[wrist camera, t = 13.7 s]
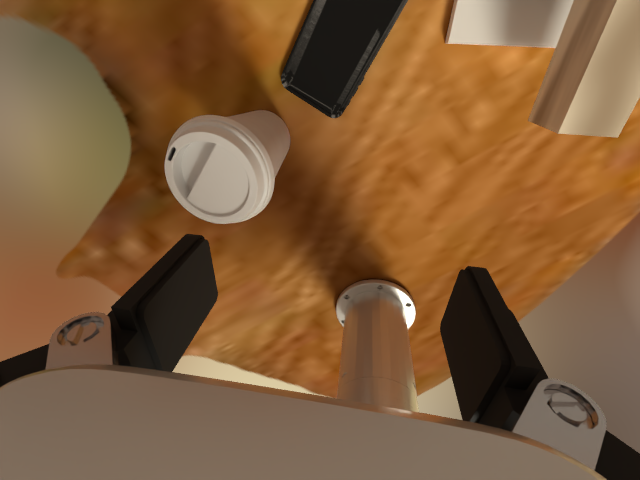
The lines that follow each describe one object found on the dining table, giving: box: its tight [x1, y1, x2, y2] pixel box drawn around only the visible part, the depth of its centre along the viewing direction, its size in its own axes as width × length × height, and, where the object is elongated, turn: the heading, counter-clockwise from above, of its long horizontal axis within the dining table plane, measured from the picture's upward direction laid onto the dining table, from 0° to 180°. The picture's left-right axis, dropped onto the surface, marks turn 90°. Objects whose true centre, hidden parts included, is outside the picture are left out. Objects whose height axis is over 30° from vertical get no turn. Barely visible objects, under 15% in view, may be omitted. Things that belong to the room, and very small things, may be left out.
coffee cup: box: [165, 110, 290, 224], centre depth 31 cm, size 10×10×15 cm
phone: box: [281, 0, 408, 118], centre depth 30 cm, size 8×1×15 cm
